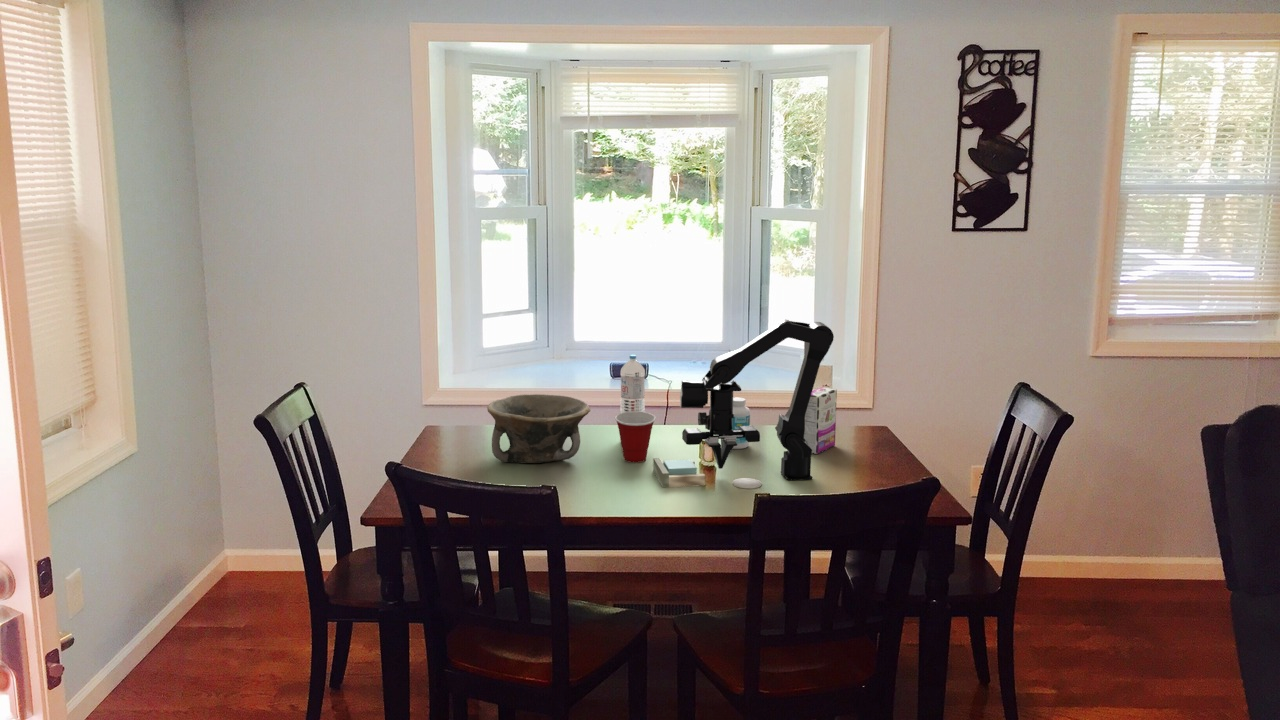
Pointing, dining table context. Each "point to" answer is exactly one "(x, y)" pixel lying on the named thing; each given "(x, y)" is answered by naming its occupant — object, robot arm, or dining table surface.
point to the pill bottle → (740, 420)
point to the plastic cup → (635, 434)
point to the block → (680, 467)
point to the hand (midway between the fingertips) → (720, 468)
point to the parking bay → (676, 476)
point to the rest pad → (746, 483)
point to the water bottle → (632, 386)
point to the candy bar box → (821, 419)
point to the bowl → (536, 427)
